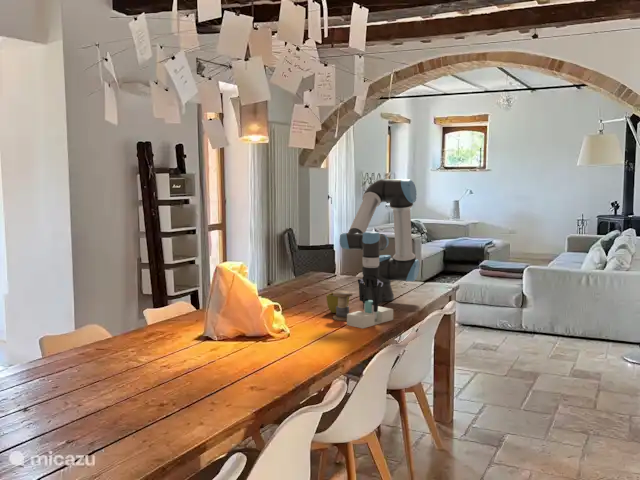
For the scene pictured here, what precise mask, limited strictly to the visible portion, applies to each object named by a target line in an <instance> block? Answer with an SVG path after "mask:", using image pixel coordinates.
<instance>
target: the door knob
mask: <svg viewBox="0 0 640 480" xmlns="http://www.w3.org/2000/svg"><path fill="white" fill-rule="evenodd" d="M332 293H333V296H336V297H338V306H336V313H335V315H333V316H332V319H333V320H334V321H340V322H347V314H349V313H350V306H349V305H348V306H347V297H349V298H350V297H353V292H352V291H346V290H338V291H334V292H332Z"/></svg>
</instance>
